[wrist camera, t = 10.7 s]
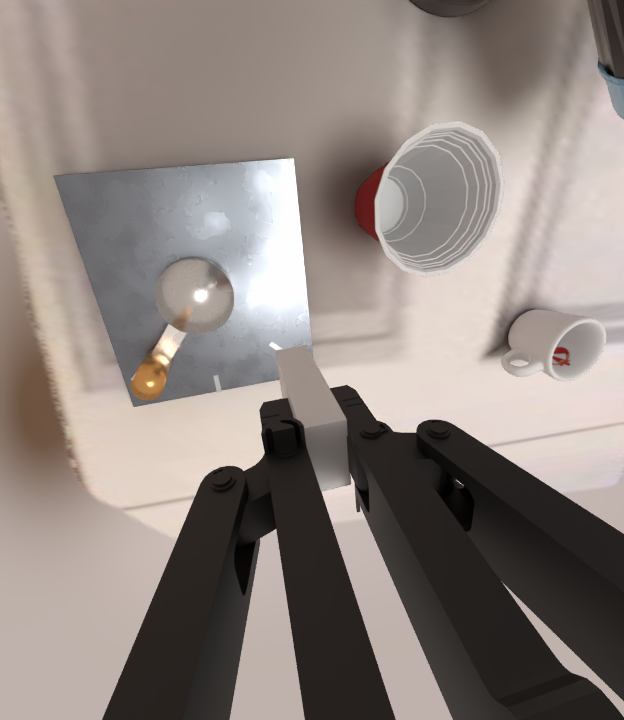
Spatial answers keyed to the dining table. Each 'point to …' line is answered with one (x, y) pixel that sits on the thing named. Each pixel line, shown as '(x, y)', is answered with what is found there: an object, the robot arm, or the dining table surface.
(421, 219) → the plastic cup
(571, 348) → the cup
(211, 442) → the dining table surface
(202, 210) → the panel
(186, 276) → the metal measuring spoon
